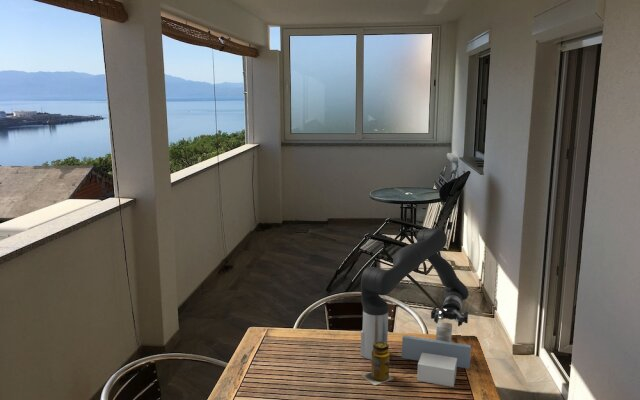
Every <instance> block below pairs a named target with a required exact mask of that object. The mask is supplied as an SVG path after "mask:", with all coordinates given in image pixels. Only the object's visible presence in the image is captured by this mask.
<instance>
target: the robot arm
mask: <svg viewBox="0 0 640 400" xmlns="http://www.w3.org/2000/svg"><path fill="white" fill-rule="evenodd" d="M447 241H448V237H447V233H446V231H444V230H443V229H441V228H423V229H420V230H419V231H418V232H417V236H416V242H413V243H410V244H408V245H405V246H404V247H402V248H401V249H399V250H398V251H397V252H396V253H394V256H393V259H392V267H391V268H389V269H384V268H380V267H375V266H367V267H366V268H364V270H363V272H362V275H361V279H360V289H361V290H360V293H361V298H360V299H361V305H362V330H361V332H360V357H364V358H365V359H367V360H371V361H372V351H373V344H374V343H375V342H385V343H387V344H388V335H389V334H388V333H389V332H388V331H389V330H388V329H389V303H388V302H387V301H386V300H384V299H383V298H382V297H381V296H387V295H389V294H391V292H392V291H393V290H394V289H395V288H397V286H398V285H399V284H400V282H401V281H403V279H405V278H406V277H407V276H408V275H409V274H410V273H412V272H413V271H414V270H416V269H417V268H418V267H419V266H420V265H421V264H423V263H424V262H425V261H428V262H429V263H430V264H431V266H432V267H433V268H434V270H435V272H436V274H437V277H438V278H439V279H440V281H441V284H442V286H443V287H445V288H444V290H443V296H444V301H443V303H442V307H441V308H440V309H437V307H433V308H432V310H431V311H430V319H432V320H433V322H434V323H435V324H438V322H439V321H440V320H441V321H442V320H445V319H446V320H451V321H452V320H453V321H455V322H456V323H457V327H460V326H462V325H463V323H464V324H468V321H469V311H464V312H462V307H463V301H466V300H467V299H468V297H469V289H468V288H467V286H466V285H465V284H464V283H463V282H462V281H461V280H460V279H459V277H458V276H457V273H456V272H455V269H454V268H453V266H452V264H451V263H449V262H448V260H447V259H445V258H444V257H443V256H442V255H440V254H439V252H440V251H442V250H443V249H444V248H445V247H446V245H447Z"/></svg>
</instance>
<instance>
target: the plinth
mask: <svg viewBox="0 0 640 400" xmlns="http://www.w3.org/2000/svg"><path fill="white" fill-rule="evenodd" d="M457 370H458V367H457V358H454V357H447V356H441V355H434V354H428V353H422V354H421V357H420V360H419V361H418V363H417V376H416V380H417V382H423V383H429V384H435V385H439V386H445V387H451V388H454V387H455V383H456V378H457Z"/></svg>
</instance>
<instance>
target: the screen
mask: <svg viewBox="0 0 640 400" xmlns="http://www.w3.org/2000/svg"><path fill="white" fill-rule="evenodd" d="M401 340H402V341H401V342H402V343H401V348H402V349H401V359H406V360H414V361H418V362H419V360H420V357H421V354H422V353H428V354H434V355H441V356H447V357H454V358H457V368H463V369H470V367H471V353H472V345H471V344H464V343H460V342H459V343H458V342H452V341H451V342H446V341H439V340H436V339H431V338H423V337H418V336H411V335H406V334H404V335H403V336H402V339H401Z"/></svg>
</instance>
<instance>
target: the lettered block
mask: <svg viewBox="0 0 640 400" xmlns="http://www.w3.org/2000/svg"><path fill="white" fill-rule="evenodd" d="M436 324H437V325H436V332H435V340H439V341H446V342H452V335H453V333H452V331H453V323H451V322H444V321H438V323H436Z"/></svg>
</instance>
